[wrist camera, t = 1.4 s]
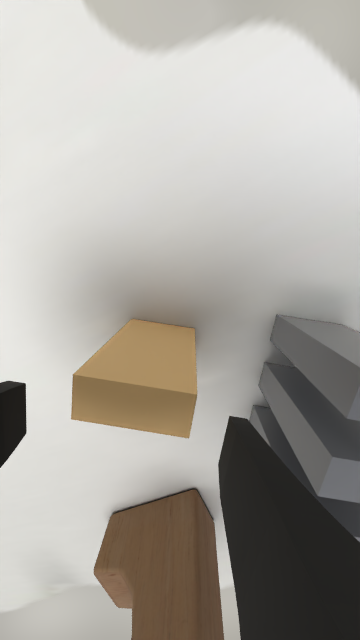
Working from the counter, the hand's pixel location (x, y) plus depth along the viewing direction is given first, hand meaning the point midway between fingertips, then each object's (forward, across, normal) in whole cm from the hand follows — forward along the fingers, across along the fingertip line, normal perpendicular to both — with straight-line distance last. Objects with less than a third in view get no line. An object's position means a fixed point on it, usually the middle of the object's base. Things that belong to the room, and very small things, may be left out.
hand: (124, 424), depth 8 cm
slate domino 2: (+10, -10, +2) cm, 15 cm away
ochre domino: (+10, 0, 0) cm, 10 cm away
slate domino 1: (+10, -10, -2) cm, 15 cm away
